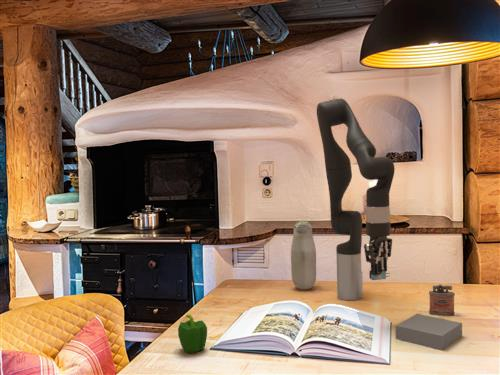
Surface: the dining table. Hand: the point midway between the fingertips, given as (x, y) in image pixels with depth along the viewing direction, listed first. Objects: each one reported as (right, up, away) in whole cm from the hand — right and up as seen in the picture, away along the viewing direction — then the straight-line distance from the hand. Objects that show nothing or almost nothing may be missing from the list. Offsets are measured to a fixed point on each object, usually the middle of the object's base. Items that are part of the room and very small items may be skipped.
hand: (379, 272), depth 161 cm
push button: (0, -2, +1) cm, 2 cm away
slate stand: (+12, -17, -11) cm, 24 cm away
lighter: (+24, -16, +9) cm, 30 cm away
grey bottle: (-19, -14, +46) cm, 52 cm away
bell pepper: (-57, -20, -15) cm, 63 cm away
